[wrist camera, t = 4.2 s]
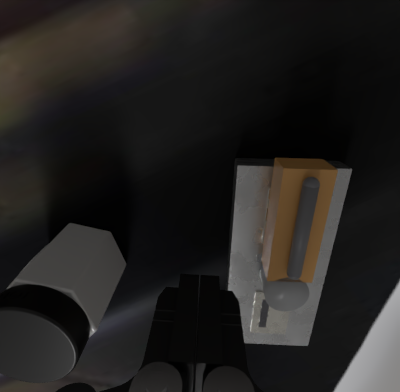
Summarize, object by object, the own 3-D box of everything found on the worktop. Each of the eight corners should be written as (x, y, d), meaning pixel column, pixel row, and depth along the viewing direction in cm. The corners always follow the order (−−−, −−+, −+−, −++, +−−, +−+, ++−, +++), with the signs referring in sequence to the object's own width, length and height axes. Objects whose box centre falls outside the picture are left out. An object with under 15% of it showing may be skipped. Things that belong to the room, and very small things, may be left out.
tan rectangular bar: (296, 289, 29) (309, 322, 25) (257, 288, 29) (264, 320, 25) (322, 159, 23) (345, 175, 19) (275, 157, 23) (287, 173, 19)
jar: (79, 207, 29) (1, 285, 18) (139, 252, 31) (101, 347, 20) (37, 257, 32) (-53, 350, 21) (95, 295, 34) (40, 399, 23)
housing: (301, 328, 35) (308, 348, 33) (222, 324, 35) (223, 344, 33) (339, 161, 26) (353, 170, 24) (235, 157, 27) (237, 166, 24)
